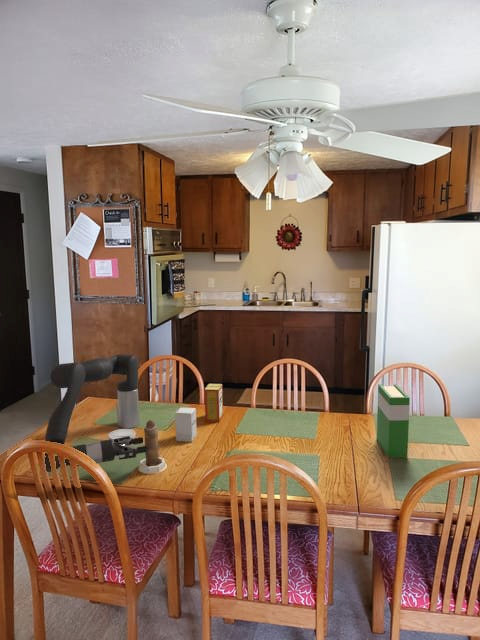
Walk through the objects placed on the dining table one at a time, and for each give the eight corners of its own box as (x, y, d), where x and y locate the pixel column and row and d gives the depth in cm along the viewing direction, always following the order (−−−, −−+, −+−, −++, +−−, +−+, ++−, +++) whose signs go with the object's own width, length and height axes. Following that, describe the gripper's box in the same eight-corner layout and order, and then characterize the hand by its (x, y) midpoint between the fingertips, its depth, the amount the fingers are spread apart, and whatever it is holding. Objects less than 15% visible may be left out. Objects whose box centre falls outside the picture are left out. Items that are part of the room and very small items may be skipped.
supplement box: (192, 442, 210) (191, 413, 208) (175, 441, 212) (174, 412, 210) (197, 435, 217) (196, 407, 215) (180, 434, 219) (179, 406, 217)
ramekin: (112, 453, 201) (111, 440, 200) (105, 443, 211) (105, 431, 210) (139, 447, 206) (138, 435, 205) (132, 438, 216) (131, 426, 215)
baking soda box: (219, 422, 233) (218, 389, 230) (205, 421, 234) (204, 388, 231) (223, 415, 242) (222, 383, 240) (209, 414, 243) (209, 382, 241)
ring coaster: (132, 472, 184) (132, 464, 183) (151, 461, 193) (151, 453, 192) (154, 478, 179) (153, 470, 178) (172, 467, 187) (172, 459, 187)
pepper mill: (143, 468, 185) (141, 421, 182) (152, 463, 189) (149, 417, 186) (153, 471, 182) (151, 423, 179) (161, 465, 186) (159, 419, 183)
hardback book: (376, 439, 210) (378, 384, 206) (394, 439, 210) (396, 384, 206) (388, 457, 193) (390, 397, 189) (407, 457, 192) (409, 397, 189)
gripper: (101, 449, 170) (148, 441, 176) (96, 434, 183) (141, 427, 189) (102, 470, 171) (149, 461, 177) (98, 454, 185) (142, 446, 190)
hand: (145, 444), depth 183 cm, fingers open, 8 cm apart
